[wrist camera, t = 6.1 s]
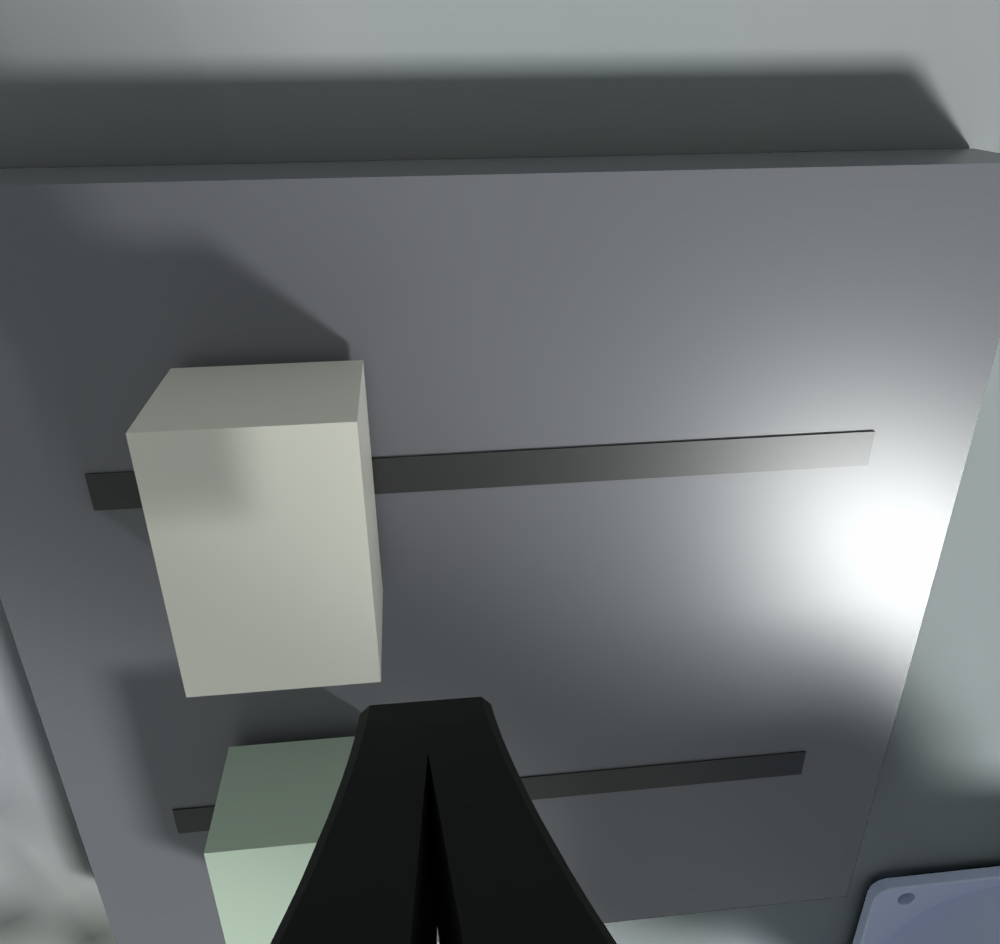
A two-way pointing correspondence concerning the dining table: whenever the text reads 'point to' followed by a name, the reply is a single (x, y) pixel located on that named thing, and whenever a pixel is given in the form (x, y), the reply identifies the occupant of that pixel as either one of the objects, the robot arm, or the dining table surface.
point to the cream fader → (263, 524)
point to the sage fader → (269, 829)
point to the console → (521, 483)
